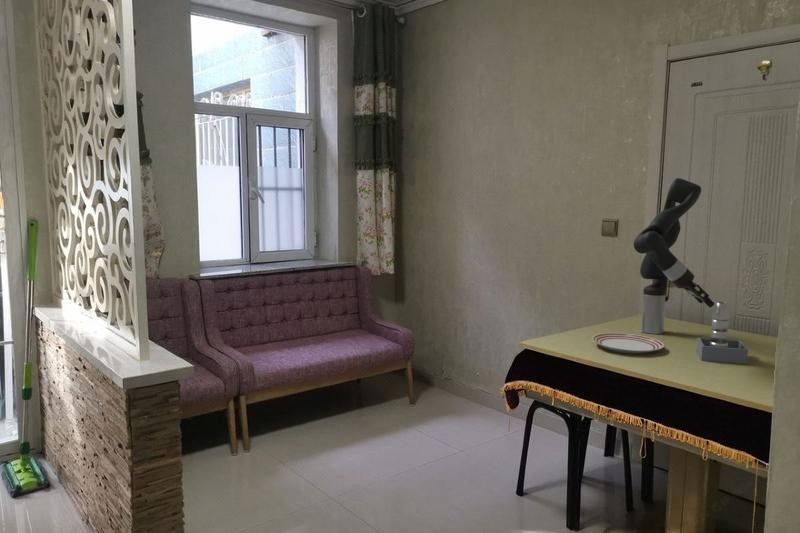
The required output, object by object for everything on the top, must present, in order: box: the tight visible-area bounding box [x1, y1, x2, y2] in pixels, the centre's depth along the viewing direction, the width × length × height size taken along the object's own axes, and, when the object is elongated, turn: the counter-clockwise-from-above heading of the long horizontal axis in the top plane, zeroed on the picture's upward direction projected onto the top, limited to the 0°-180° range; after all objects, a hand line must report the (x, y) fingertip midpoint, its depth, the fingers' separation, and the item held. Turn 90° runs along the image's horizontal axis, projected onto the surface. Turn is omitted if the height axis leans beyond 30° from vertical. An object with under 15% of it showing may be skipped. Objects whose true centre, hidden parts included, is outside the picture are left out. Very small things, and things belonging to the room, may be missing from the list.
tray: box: [696, 337, 749, 365], centre depth 229 cm, size 15×15×6 cm
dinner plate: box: [591, 332, 665, 355], centre depth 243 cm, size 27×27×3 cm
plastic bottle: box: [709, 301, 731, 348], centre depth 228 cm, size 6×7×20 cm
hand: (707, 303), depth 227 cm, fingers open, 8 cm apart
